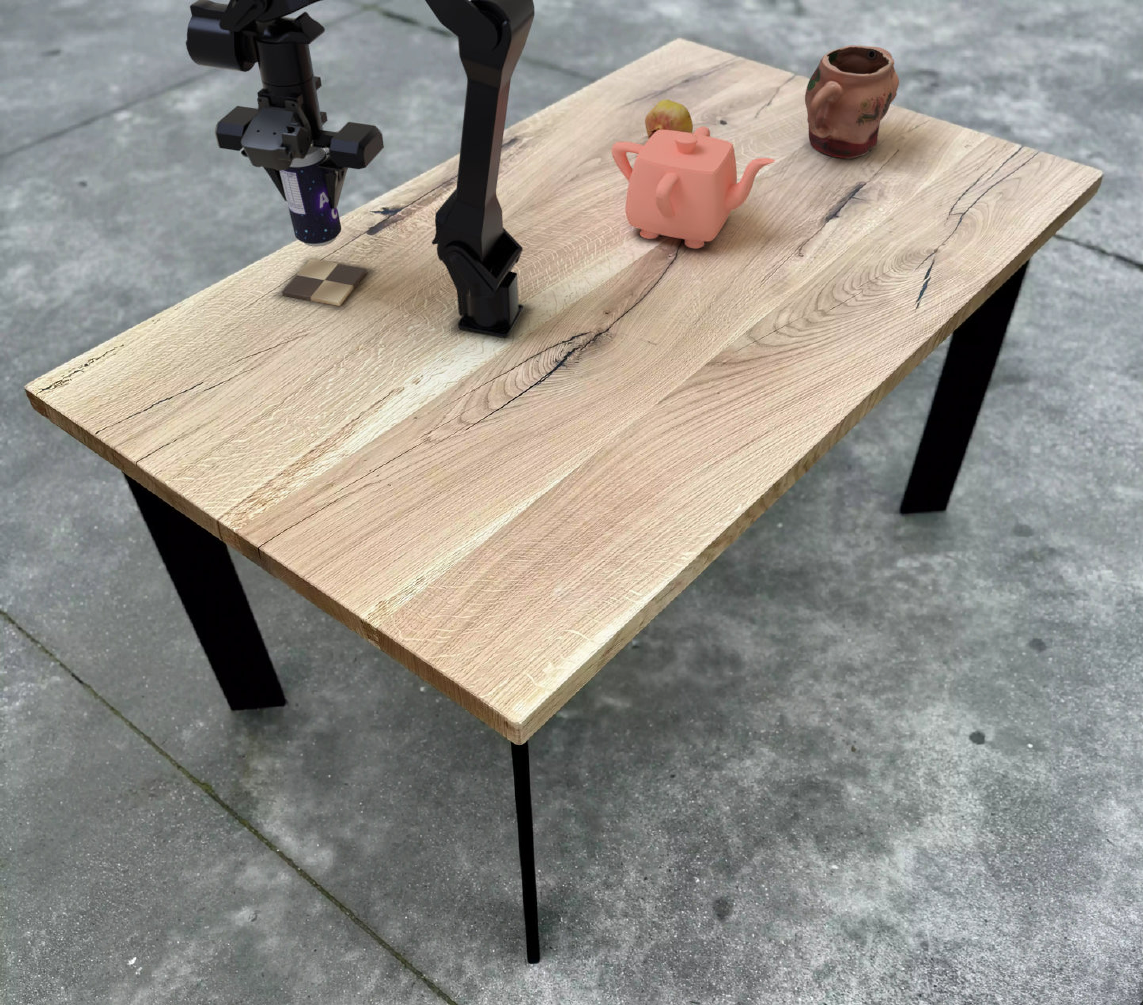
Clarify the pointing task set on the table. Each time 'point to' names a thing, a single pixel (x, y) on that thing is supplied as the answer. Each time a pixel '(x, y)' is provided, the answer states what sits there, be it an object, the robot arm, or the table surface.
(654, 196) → the teapot
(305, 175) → the beverage can
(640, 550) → the table surface
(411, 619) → the table surface
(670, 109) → the fruit
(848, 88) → the decorative planter
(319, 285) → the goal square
